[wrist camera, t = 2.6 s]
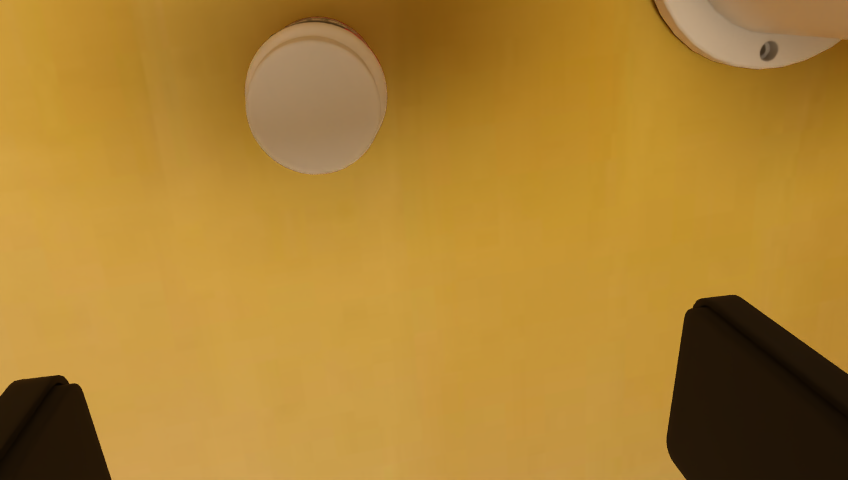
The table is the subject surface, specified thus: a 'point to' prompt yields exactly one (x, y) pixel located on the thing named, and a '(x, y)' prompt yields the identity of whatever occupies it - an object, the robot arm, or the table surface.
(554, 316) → the table surface
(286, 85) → the pill bottle
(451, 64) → the table surface
